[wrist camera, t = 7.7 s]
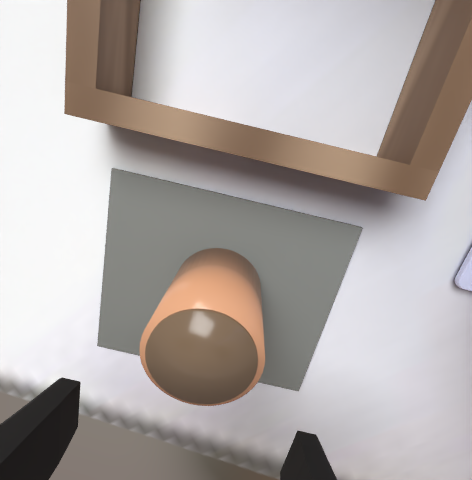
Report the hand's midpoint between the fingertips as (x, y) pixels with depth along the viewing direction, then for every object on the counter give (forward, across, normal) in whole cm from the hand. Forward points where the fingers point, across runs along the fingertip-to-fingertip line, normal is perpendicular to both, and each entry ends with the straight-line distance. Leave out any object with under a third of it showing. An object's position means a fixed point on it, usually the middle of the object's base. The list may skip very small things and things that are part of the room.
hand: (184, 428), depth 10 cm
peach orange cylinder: (+9, 0, 0) cm, 9 cm away
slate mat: (+9, 0, 0) cm, 9 cm away
